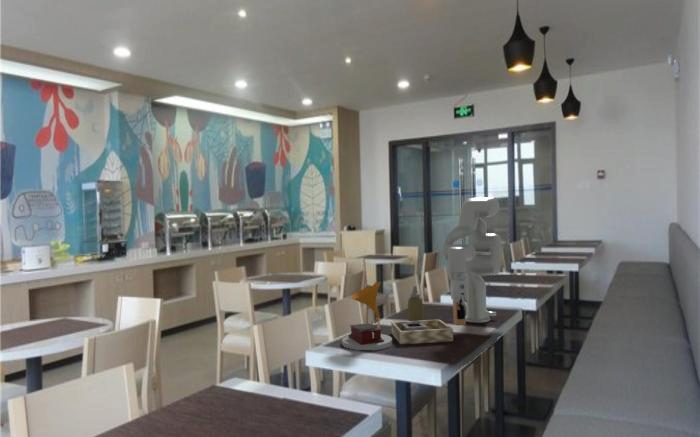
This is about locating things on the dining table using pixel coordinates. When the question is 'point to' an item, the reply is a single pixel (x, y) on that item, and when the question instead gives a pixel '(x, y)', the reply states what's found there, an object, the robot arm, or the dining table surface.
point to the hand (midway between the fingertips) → (459, 316)
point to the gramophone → (367, 325)
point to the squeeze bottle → (415, 306)
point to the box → (423, 332)
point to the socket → (413, 326)
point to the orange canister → (456, 320)
